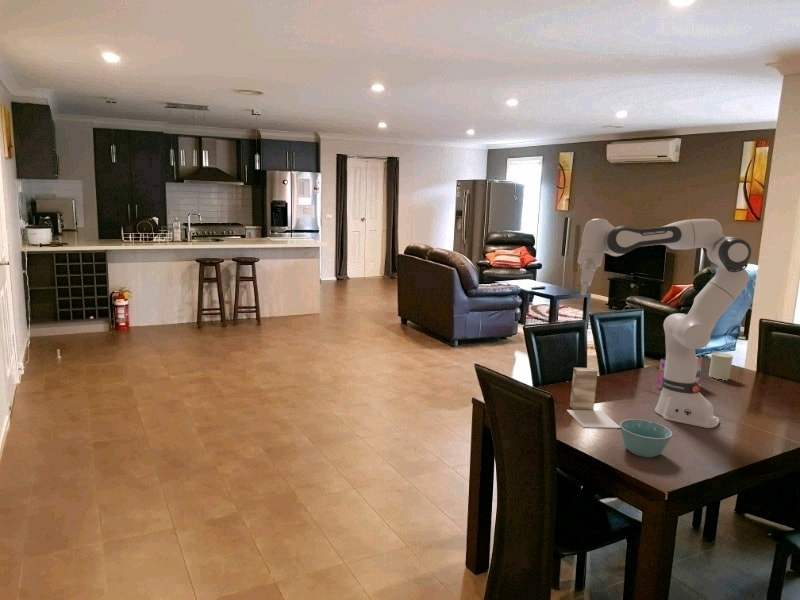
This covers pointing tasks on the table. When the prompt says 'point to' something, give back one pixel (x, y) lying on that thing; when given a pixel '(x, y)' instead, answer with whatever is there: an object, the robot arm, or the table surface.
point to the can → (720, 365)
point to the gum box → (662, 369)
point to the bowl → (644, 437)
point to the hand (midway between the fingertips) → (583, 295)
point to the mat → (592, 419)
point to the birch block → (583, 388)
